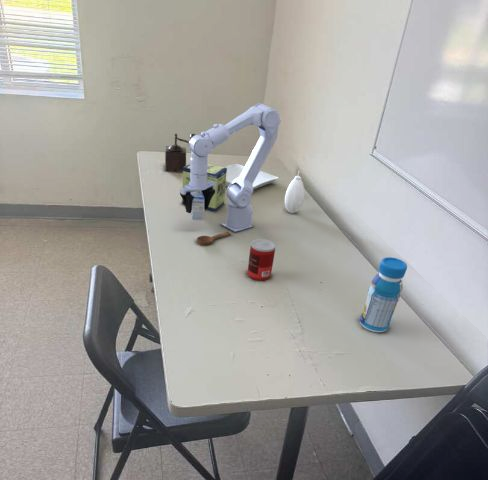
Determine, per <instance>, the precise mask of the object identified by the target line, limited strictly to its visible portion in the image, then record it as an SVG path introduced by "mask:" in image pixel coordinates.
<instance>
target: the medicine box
mask: <svg viewBox="0 0 488 480" xmlns="http://www.w3.org/2000/svg"><path fill="white" fill-rule="evenodd" d="M190 194H191V195H192V196H194V199H193V202H192V211H191V213H190V216H191V220H192V221H203V220H205V209H204V196H203V193H202V190H200V191H195V192H191V193H190Z"/></svg>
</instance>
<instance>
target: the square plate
mask: <svg viewBox="0 0 488 480" xmlns="http://www.w3.org/2000/svg"><path fill="white" fill-rule="evenodd" d="M223 167H224V168H227V174H226V186H225V187H227V188H228V187H229V185H231V184H232V183H233V181H234V180H235V179H236V178H237V177H239V176H240V175H241V173H242V171H243V169H244V167H245V165H242V164H239V163H233V164H228V165H226V166H223ZM279 178H280V177H279V176H277V175H274V174H271V173H268V172H265V171H264V170H260V171H259V173H258V175H257V177H256V178H255V180H254V182H253V191H254V190H256V189H258V188H260V187H264V186H266V185H269V184H271V183H273V182H275V181H277V180H278V179H279Z"/></svg>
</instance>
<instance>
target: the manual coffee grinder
mask: <svg viewBox="0 0 488 480" xmlns="http://www.w3.org/2000/svg"><path fill="white" fill-rule="evenodd" d="M195 135H197V134H195V133H191V134H189V139H190V140H191V138H192V137H193V136H195ZM190 140H187V139H183V138H179V137H178V134H177V133H175V134H174V144H172V145H166V146H165V147H164V171H165V172H174V173H175V172H176V173H177V172H178V173H183V167H184V166H186V165H187V148H186V147H183V146H180V145H178V141H180V142H184V143H187V144H189V143H190Z"/></svg>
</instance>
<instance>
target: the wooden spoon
mask: <svg viewBox="0 0 488 480" xmlns="http://www.w3.org/2000/svg"><path fill="white" fill-rule="evenodd" d="M231 235H232V233H231V232H229V231H226V232H223V233H220V234H215V235H212V236H210V235H200V236H198V237H197V238H196V244H198V245H199V246H210V245H213V242H215V241H217V240H220V239H222V238H226V237H229V236H231Z"/></svg>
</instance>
